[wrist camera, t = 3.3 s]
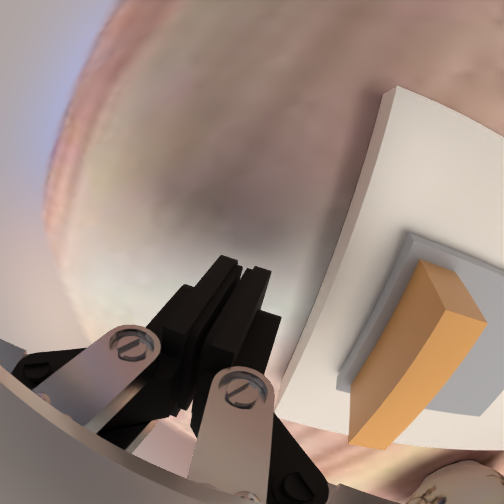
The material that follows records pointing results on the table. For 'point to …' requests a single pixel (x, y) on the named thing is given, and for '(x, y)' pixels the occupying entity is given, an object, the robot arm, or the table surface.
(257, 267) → the robot arm
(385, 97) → the socket board
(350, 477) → the table surface
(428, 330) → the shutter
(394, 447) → the table surface
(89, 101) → the table surface
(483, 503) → the white bowl
